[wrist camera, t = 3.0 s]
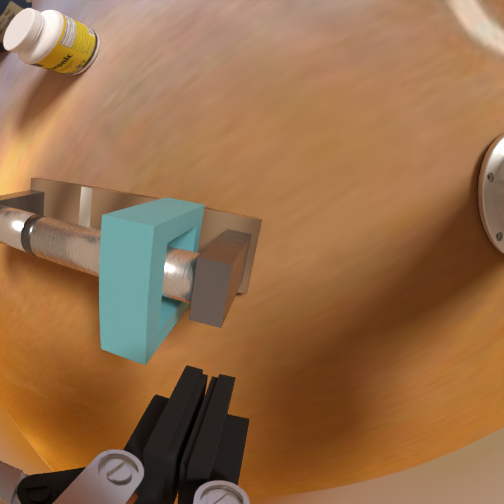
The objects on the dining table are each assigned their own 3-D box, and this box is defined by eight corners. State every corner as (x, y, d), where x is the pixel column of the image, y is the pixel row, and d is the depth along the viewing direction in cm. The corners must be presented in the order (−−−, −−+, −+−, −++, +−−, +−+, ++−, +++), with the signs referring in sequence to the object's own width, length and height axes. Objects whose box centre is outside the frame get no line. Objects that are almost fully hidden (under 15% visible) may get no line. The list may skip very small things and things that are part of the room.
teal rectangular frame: (204, 204, 22) (154, 226, 14) (190, 304, 25) (145, 365, 16) (166, 197, 23) (102, 215, 14) (156, 294, 25) (101, 348, 16)
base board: (261, 219, 26) (260, 221, 25) (247, 291, 27) (245, 294, 27) (35, 177, 27) (30, 178, 27) (33, 233, 29) (28, 235, 28)
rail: (253, 232, 26) (232, 265, 17) (244, 276, 27) (221, 327, 18) (37, 189, 28) (-26, 200, 19) (36, 224, 29) (-24, 244, 20)
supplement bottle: (58, 80, 24) (-8, 64, 15) (67, 36, 23) (7, 11, 14) (96, 72, 24) (29, 48, 14) (106, 26, 22) (47, -9, 13)
